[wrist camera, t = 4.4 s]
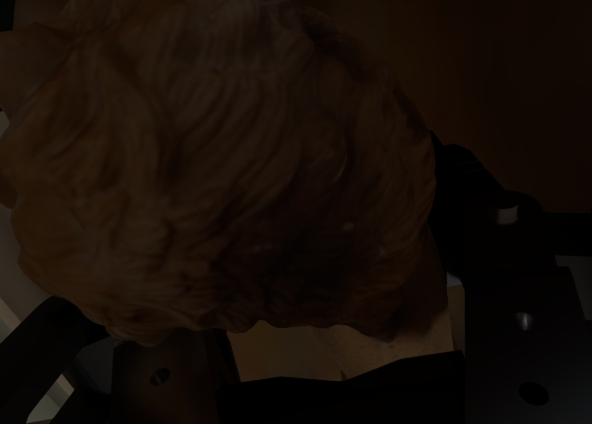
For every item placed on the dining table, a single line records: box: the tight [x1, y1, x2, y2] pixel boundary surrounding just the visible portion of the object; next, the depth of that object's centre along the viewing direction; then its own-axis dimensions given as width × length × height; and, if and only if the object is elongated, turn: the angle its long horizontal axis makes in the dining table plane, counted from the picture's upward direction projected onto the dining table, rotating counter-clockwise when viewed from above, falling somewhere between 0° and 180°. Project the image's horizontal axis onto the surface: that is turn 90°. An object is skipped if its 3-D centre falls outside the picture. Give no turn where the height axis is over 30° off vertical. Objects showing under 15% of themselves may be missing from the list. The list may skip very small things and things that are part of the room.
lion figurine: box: [0, 0, 461, 381], centre depth 9 cm, size 15×5×9 cm, turn 32°
